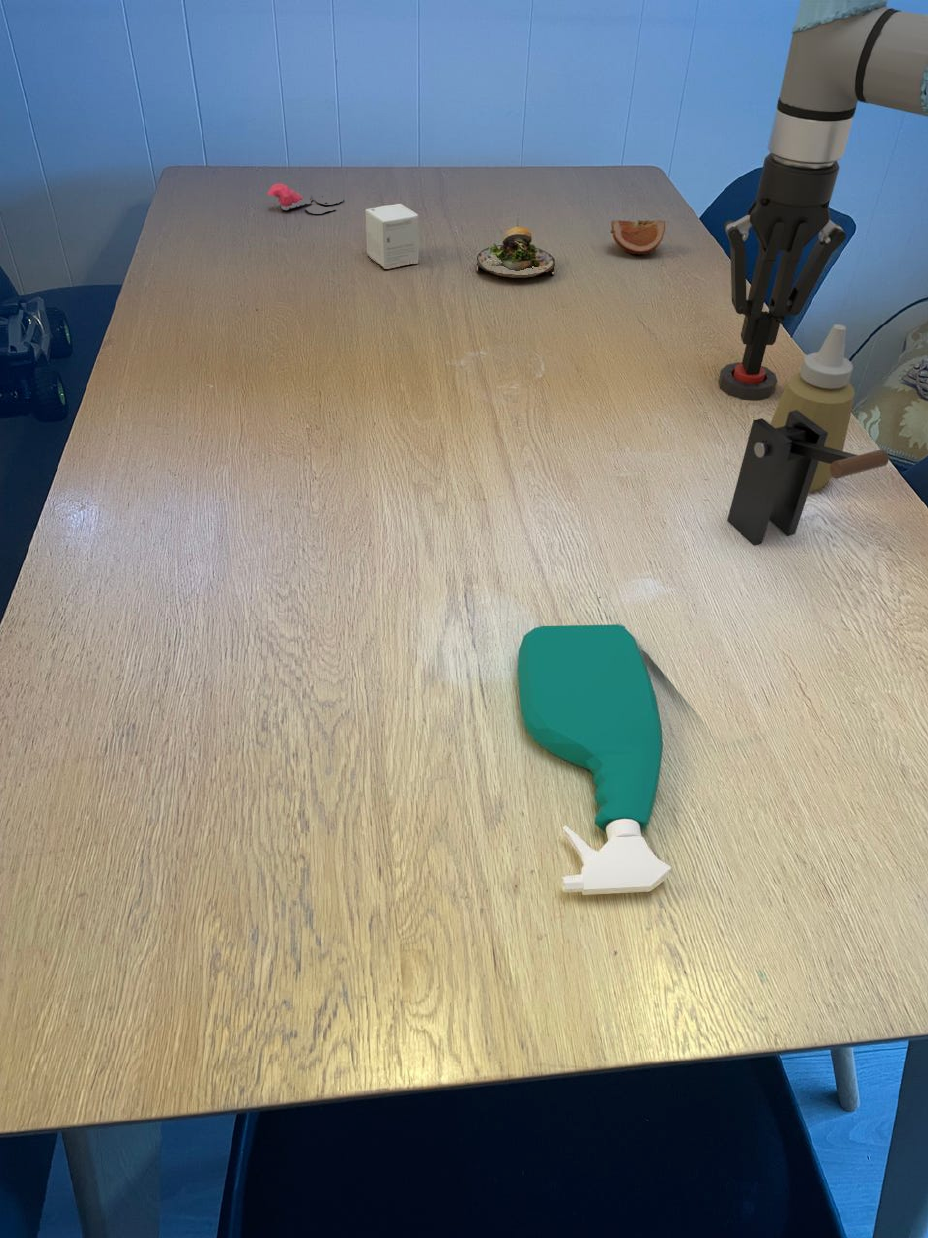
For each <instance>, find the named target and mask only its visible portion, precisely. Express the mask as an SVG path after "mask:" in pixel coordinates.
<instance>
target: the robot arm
mask: <svg viewBox="0 0 928 1238" xmlns="http://www.w3.org/2000/svg"><path fill="white" fill-rule="evenodd" d="M888 1H889V0H801V1H800V5H799V8H798V12H797V15H796V19H795V21H794V26H793V27H792V29H791V34H792V36H791V40H790V44H789V50H788V53H787V59H786V64H785V69H784V72H783V73H784V74H783V79H782V82H781V88H780V93H779V97H778V98H777V99H778V100H777V104H776V109H775V113H774V117H773V122H772V125H771V126H772V127H771V130H770V135H769V138H768V144H767V150H768V152H769V153H768V154H767V155H766V156H765V157H764V160H763V165H762V169H761V174H760V178H759V182H758V187H757V191H756V195H755V198H754V201H753V203H752V204H751V205H750V206H749V208H748V211H747V214H746V215H744V216H743V217H741V218H740V219H738V220H736V221H734V220H727V221H726V222H725V223H724V225H723V228H724V229H723V230H724V231H725V234H726V236H727V237H728V241H729V246H730V247H729V249H730V250H729V251H730V287H731V290H730V291H731V304H732V306H733V308H734V311H735V312H736V314H738V315H743V316H744V320H743V323H742V327H741V332H740V339H741V341H742V344H743V345H745V348H744V353H743V357H742V361H741V362H742V364H743V367H744V369H745V371H746V374H759V372H760V368H761V366H762V363H763V361H764V360H763V359H764V356H765V352H766V348H767V346H773V345H774V344H775V343H776V341H777V336H778V334H779V330H780V326H781V324H783V323H784V322H785V320H786V317H788V316H794V317H796V316H798V315H800V314H801V312H802V311H803V308H804V306H805V305H806V303H807V301H808V298H809V297H810V295H811V293H812V292H813V290H814V288H815V287H816V284H817V282H818V280H819V278H820V277H821V274H822V272H823V271H824V269H825V267H826V265H827V264H828V262H829V260H830V258H831V256H832V255H833V253H834V252H835V251H836V250H838V248H839V247H840V246H841V245H842V243H844V242H845V241H846V239H847V234H846V232H845V230H843V228H842V226H840V224H839V223H835V222H833V221H832V220H831V211H830V202H831V200H832V197H833V193H834V189H835V186H836V182H837V179H838V175H839V171H840V165H839V162H838V161H839V160H841V159H842V158H843V157H844V154H845V151H846V147H847V144H848V143H847V142H848V139H849V135H850V131H851V127H852V123H853V120H854V116H855V113H856V110H857V107H858V106H857V105H858V103H859V102H860V103H865V104H871V105H874V106H880V107H884V108H888V109H893V110H896V111H901V112H905V113H909V114H915V115H918V116H923V117H927V118H928V14H925V13H917V12H911V11H910V12H908V11H902V10H899V9H895V8H892V7H889V6H887V4H888ZM751 228H752V230H753V232H754V234H755V236H756V238H757V240H758V242H759V244H758V254H757V257H756V263H755V266H754V272H753V275H752V276H753V277H752V280H751V283H750V288H749V292H748V296H747V250H746V249H747V247H746V243H745V241H747V240H748V239H749V237H750V233H749V232H750V229H751ZM817 235H818V236H817ZM816 236H817V238H818V239H817V240H816V241H815V243H814V246H813V247H812V249H811V252H810V253H809V255H808V257H807V259H806V261H805V262H804V264H803V266H802V268H801V270H800V272H799V273H798V276H797V278H796V279H795V274H796V272H797V267H798V263H799V262H800V261H801V258H802V254H803V250H804V247H806V246H807V245H808V244H809V243H810V242H811V241H812V240H813V239H814V238H815V237H816ZM779 251H781V255H780V259H779V263H778V266H777V272H776V274H775V280H774V283H773V287H772V290H771V291H772V292H771V295H770V299H769V303H768V307H767V308H768V311H763V308H764V305H765V300H766V296H767V293H768V289H769V285H770V281H771V277H772V274H773V269H774V265H775V262H776V261H777V259H778V255H779ZM794 279H795V282H794ZM793 283H794V284H793Z"/></svg>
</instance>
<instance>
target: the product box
mask: <svg viewBox="0 0 928 1238" xmlns="http://www.w3.org/2000/svg"><path fill="white" fill-rule="evenodd" d="M419 221H420V220H419V214H417V213H416V211H413V210H412V209H410V208H408V207H407V206H405V205H404V204H402V203H396V204H390V205H381V206H376V207H370V208H366V209H365V230H366V231H365V232H366V233H365V234H366V254H367V253H368V254H369V255H370V256H371V257H372V258H374V259H375V260H376V261H377V262H378V263H379V264H381V265H382V266H391V265H396V264H400V263H405V262H409V261H415V260H419V261H420V228H419V227H420V222H419Z"/></svg>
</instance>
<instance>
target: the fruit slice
mask: <svg viewBox="0 0 928 1238" xmlns="http://www.w3.org/2000/svg"><path fill="white" fill-rule="evenodd" d="M610 223H611V230H610V234H612V237H613V241H614V242H615V243H616V244H617V245H618V246H619V247H620V248H621V249H622V250H624V251H625V252H626V253H629V254H632V255H635V254H638V255H637V256H641V255H640V254H642V255H646V254H649V253H651V252H652V251H654V250H655V249H657V248H658V247H659V245H660V244H661V242H662V241H663V239H664V236H665V232H666V221H665V220H637V221H632V220H615V219H613V220H611V222H610Z"/></svg>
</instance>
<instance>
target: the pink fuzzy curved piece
mask: <svg viewBox="0 0 928 1238" xmlns="http://www.w3.org/2000/svg"><path fill="white" fill-rule="evenodd" d="M266 195H267V196H273V197H275V198H278V203H279V202H280V205H282V206H286V207H287V206H290V205H292V203H297V202H298V201H299V200H302V198H303V196H301V195H300V194H298V193H295V190H293V189H291V188H289V187H288V186H287V185H286V184H283V183H281V182H280V183H275V184H273V185H271V187H270V189H269V190H268V192H267V193H266Z"/></svg>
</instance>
